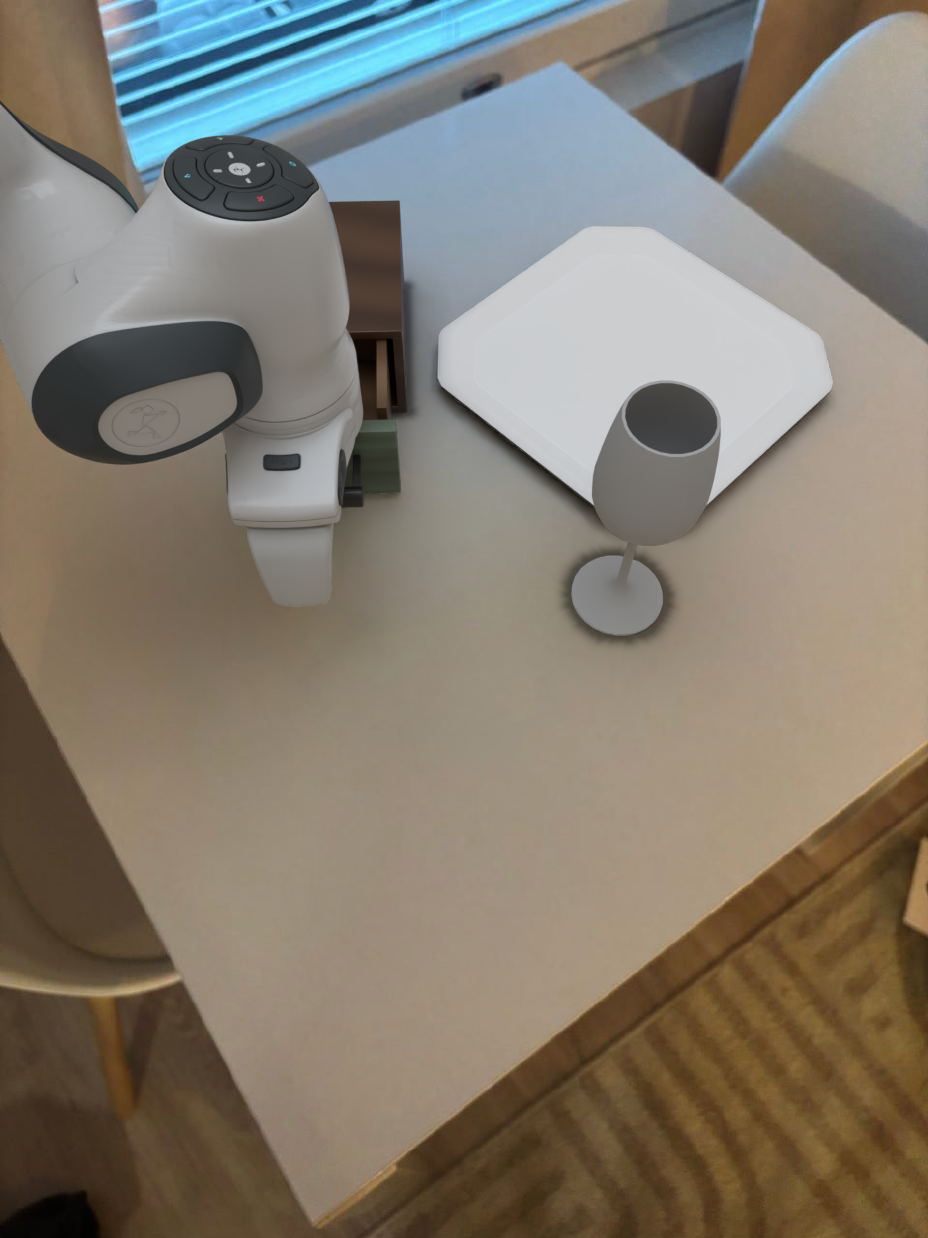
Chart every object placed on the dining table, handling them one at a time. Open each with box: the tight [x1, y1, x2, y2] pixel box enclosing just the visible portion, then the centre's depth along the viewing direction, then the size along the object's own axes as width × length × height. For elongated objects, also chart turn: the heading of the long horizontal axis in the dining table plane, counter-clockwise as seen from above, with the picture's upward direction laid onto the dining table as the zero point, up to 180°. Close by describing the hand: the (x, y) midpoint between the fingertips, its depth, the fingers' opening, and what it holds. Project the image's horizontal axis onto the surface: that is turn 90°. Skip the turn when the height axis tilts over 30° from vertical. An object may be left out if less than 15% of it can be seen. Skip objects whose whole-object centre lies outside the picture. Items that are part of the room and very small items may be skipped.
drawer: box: [341, 338, 402, 509], centre depth 76 cm, size 19×12×8 cm, turn 3°
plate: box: [436, 225, 834, 509], centre depth 84 cm, size 29×29×2 cm
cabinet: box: [328, 199, 408, 414], centre depth 82 cm, size 16×14×10 cm
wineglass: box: [570, 380, 721, 637], centre depth 65 cm, size 8×8×21 cm
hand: (318, 525), depth 70 cm, fingers closed
